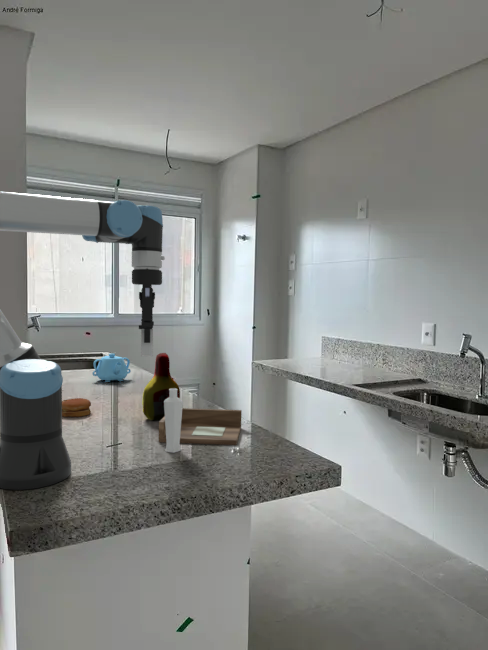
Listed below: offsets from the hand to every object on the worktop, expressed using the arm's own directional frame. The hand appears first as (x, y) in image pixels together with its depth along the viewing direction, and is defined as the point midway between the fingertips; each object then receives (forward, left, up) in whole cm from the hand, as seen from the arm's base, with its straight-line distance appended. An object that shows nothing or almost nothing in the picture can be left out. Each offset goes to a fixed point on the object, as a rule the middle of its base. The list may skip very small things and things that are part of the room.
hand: (146, 353), depth 125 cm
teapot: (+84, +38, -23) cm, 95 cm away
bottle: (+24, +2, -23) cm, 33 cm away
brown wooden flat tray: (+8, -13, -23) cm, 28 cm away
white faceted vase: (-6, -8, -23) cm, 25 cm away
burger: (+26, +30, -23) cm, 45 cm away
